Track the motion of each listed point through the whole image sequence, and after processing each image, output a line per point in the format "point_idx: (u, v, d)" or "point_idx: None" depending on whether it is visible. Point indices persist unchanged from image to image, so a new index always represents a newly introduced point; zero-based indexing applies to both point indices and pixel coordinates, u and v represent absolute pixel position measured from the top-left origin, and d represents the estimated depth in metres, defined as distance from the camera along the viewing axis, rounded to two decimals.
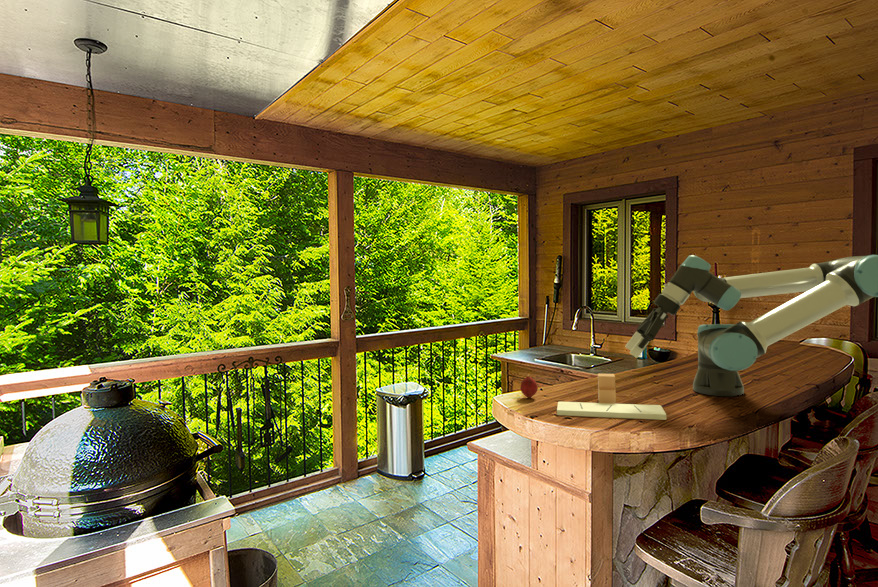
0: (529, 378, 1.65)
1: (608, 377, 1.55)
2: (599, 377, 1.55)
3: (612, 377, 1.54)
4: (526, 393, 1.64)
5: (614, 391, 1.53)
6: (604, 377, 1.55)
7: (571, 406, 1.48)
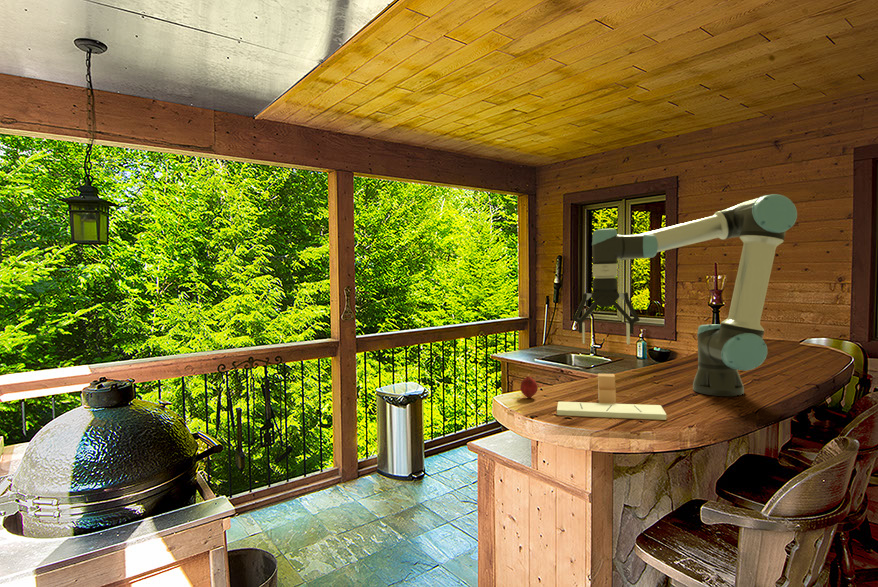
0: (529, 378, 1.65)
1: (608, 377, 1.55)
2: (599, 377, 1.55)
3: (612, 377, 1.54)
4: (526, 393, 1.64)
5: (614, 391, 1.53)
6: (604, 377, 1.55)
7: (571, 406, 1.48)
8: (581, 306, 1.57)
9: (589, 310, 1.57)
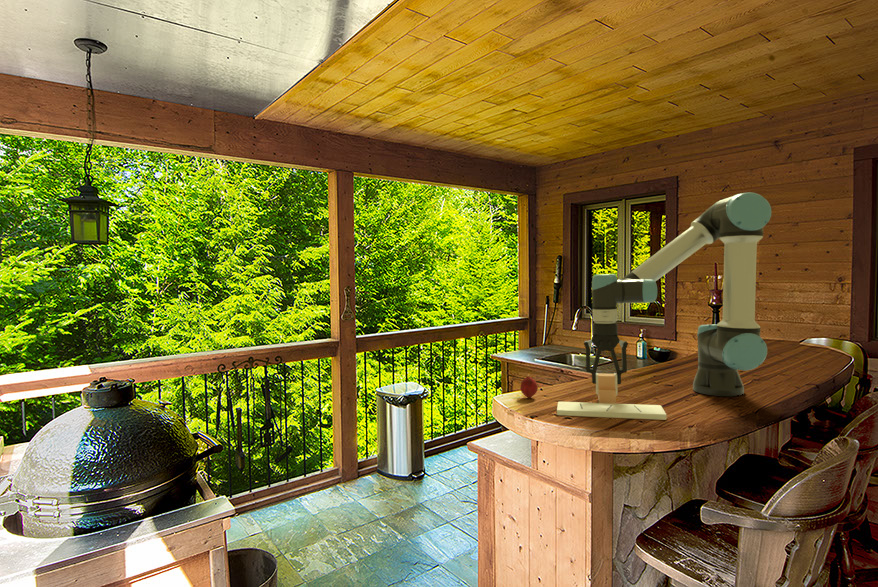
0: (529, 378, 1.65)
1: (608, 377, 1.55)
2: (599, 377, 1.55)
3: (612, 377, 1.54)
4: (526, 393, 1.64)
5: (614, 391, 1.53)
6: (604, 377, 1.55)
7: (571, 406, 1.48)
8: (588, 355, 1.57)
9: (596, 358, 1.56)
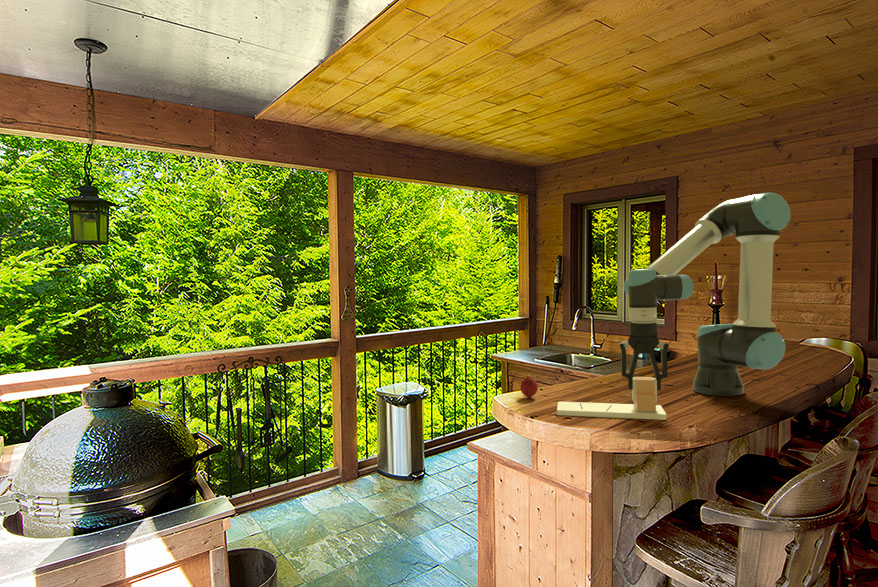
0: (529, 378, 1.65)
1: (647, 381, 1.40)
2: (637, 381, 1.41)
3: (651, 381, 1.40)
4: (526, 393, 1.64)
5: (654, 396, 1.38)
6: (642, 381, 1.41)
7: (571, 406, 1.48)
8: (624, 358, 1.43)
9: (634, 362, 1.42)
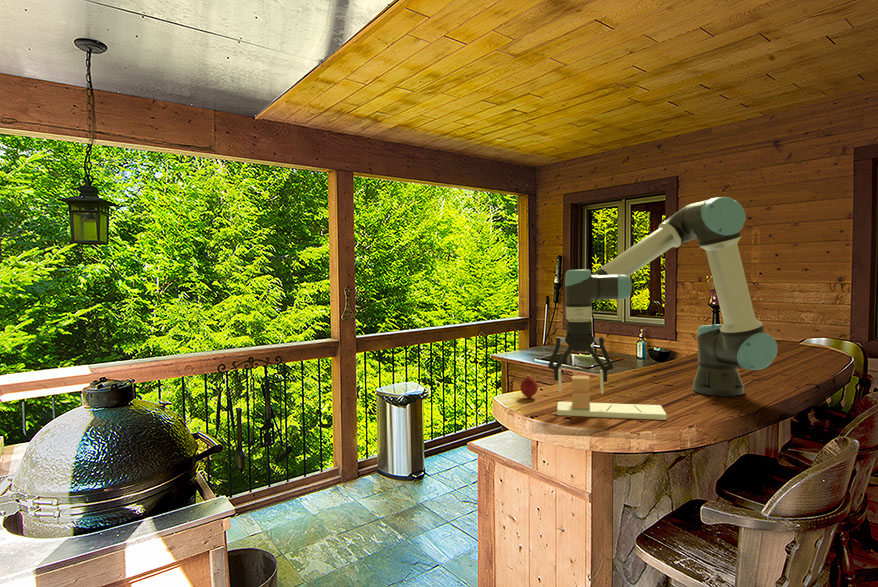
0: (529, 378, 1.65)
1: (582, 379, 1.45)
2: (572, 379, 1.46)
3: (586, 379, 1.45)
4: (526, 393, 1.64)
5: (588, 394, 1.43)
6: (578, 379, 1.46)
7: (571, 406, 1.48)
8: (555, 352, 1.48)
9: (564, 356, 1.47)
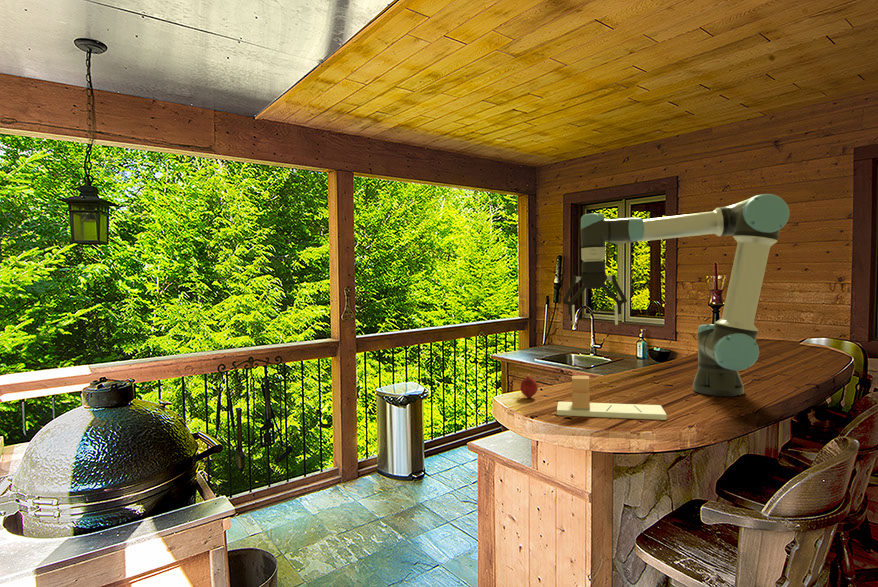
0: (529, 378, 1.65)
1: (582, 379, 1.45)
2: (572, 379, 1.46)
3: (586, 379, 1.45)
4: (526, 393, 1.64)
5: (588, 394, 1.43)
6: (578, 379, 1.46)
7: (571, 406, 1.48)
8: (571, 289, 1.63)
9: (578, 292, 1.62)
